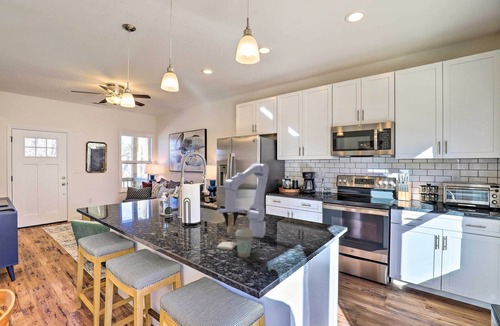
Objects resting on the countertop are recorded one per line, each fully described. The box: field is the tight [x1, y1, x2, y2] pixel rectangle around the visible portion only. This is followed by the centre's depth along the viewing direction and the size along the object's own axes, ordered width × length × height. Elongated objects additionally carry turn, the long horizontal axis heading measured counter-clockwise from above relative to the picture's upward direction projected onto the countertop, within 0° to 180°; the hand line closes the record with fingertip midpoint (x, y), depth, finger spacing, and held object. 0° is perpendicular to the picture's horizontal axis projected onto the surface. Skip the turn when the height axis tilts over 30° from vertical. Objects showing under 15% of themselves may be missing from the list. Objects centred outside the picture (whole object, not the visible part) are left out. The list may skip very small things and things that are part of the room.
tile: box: [216, 241, 237, 250], centre depth 129 cm, size 8×2×8 cm
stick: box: [226, 213, 235, 235], centre depth 133 cm, size 3×3×10 cm
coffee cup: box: [234, 227, 253, 259], centre depth 117 cm, size 9×8×12 cm
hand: (230, 226), depth 133 cm, fingers closed on stick, 3 cm apart
